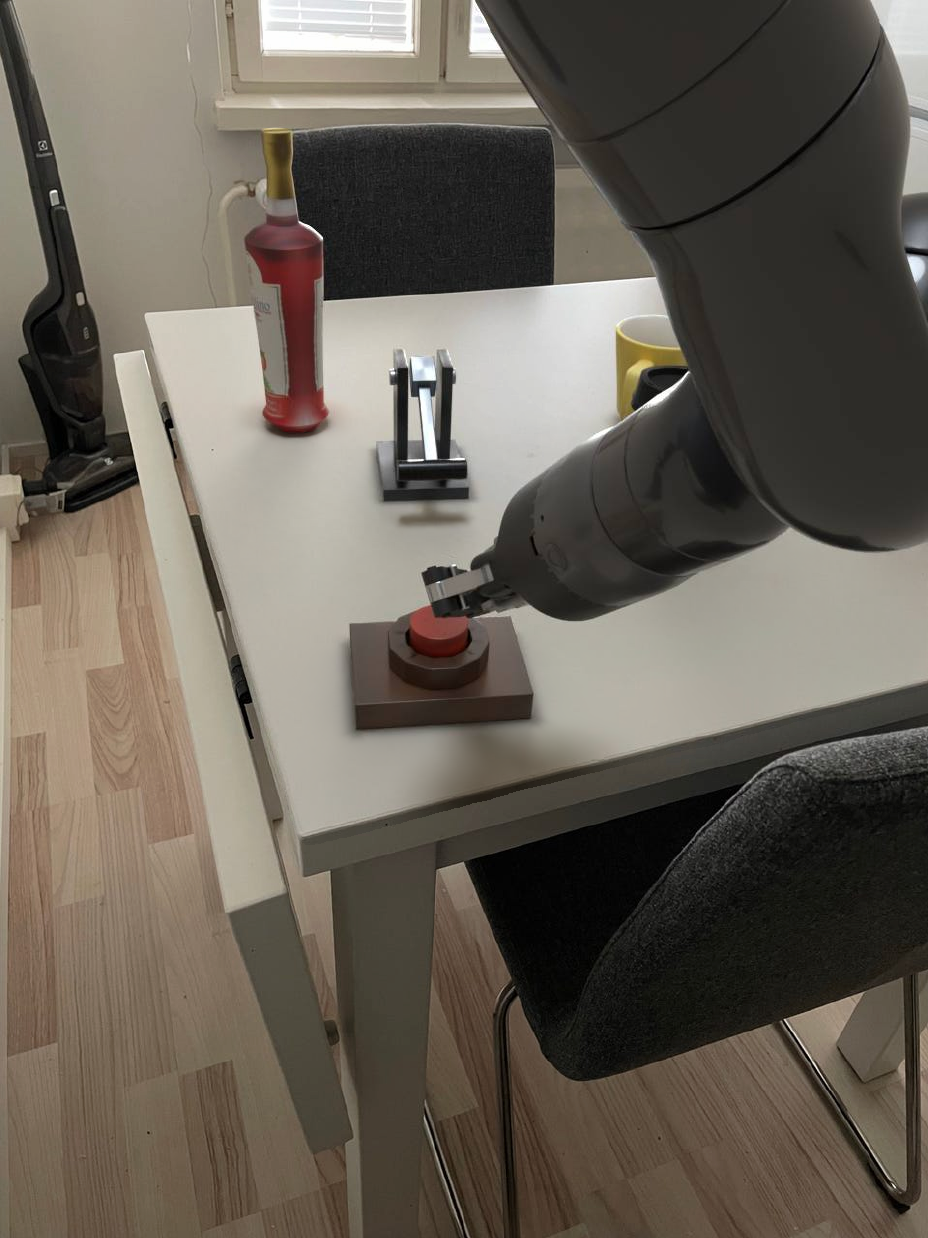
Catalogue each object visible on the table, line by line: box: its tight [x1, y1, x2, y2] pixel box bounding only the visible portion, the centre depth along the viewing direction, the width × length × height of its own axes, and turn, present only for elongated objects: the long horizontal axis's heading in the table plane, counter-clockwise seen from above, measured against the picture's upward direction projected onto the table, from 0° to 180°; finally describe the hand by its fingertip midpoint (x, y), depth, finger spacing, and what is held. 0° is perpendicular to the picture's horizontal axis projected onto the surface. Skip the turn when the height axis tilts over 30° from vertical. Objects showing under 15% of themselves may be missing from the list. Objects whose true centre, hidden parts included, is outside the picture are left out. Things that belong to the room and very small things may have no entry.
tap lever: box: [397, 355, 468, 481], centre depth 85 cm, size 12×6×2 cm, turn 8°
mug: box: [615, 314, 687, 422], centre depth 101 cm, size 14×10×10 cm
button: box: [410, 604, 468, 658], centre depth 66 cm, size 4×4×2 cm
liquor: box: [243, 127, 330, 434], centre depth 93 cm, size 7×7×28 cm
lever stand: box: [376, 348, 470, 502], centre depth 90 cm, size 10×8×12 cm
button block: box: [348, 610, 535, 730], centre depth 67 cm, size 12×9×4 cm
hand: (471, 600), depth 59 cm, fingers closed
